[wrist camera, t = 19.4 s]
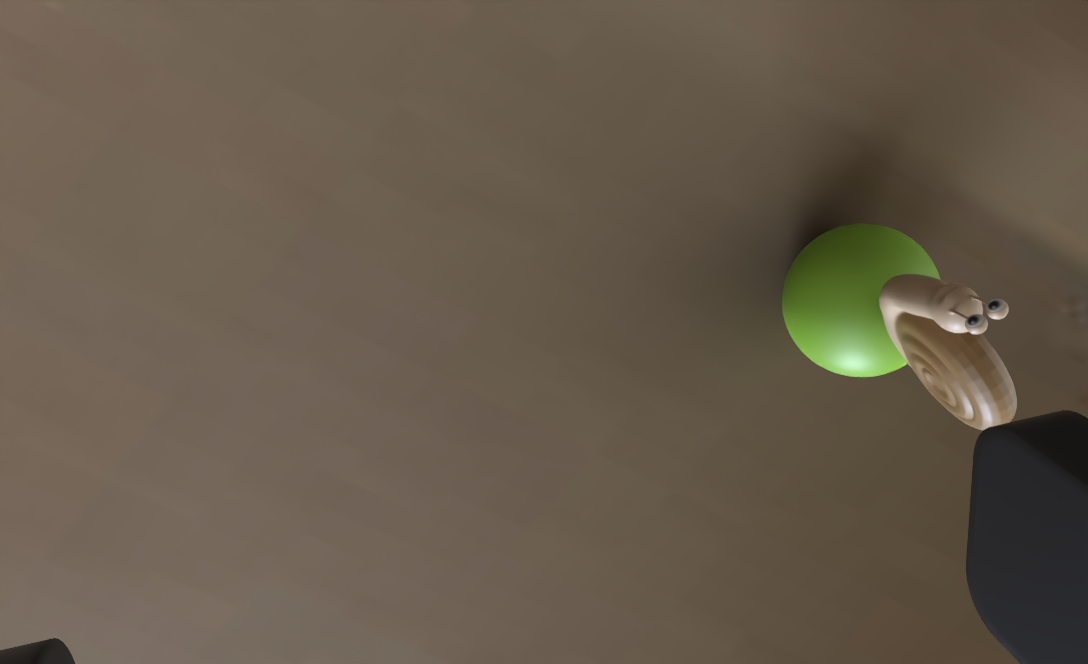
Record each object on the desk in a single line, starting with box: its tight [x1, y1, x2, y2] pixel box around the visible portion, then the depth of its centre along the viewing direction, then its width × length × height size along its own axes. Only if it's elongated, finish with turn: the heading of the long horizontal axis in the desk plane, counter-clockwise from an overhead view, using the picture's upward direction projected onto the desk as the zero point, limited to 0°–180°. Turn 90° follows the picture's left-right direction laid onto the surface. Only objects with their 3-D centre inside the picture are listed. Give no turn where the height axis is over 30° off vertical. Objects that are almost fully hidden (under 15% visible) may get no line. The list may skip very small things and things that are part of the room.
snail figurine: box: [782, 223, 1017, 430], centre depth 32 cm, size 5×6×12 cm
